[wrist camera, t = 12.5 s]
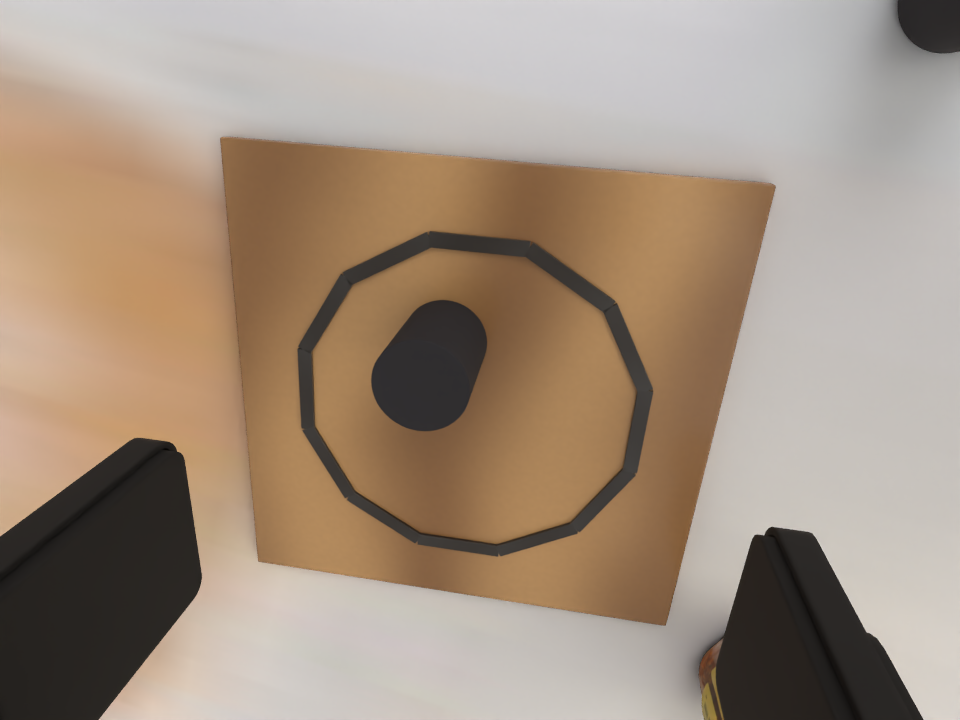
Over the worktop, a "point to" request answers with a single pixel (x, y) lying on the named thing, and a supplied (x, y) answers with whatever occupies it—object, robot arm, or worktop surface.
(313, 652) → the worktop surface
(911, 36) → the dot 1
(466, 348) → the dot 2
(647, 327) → the board
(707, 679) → the sauce bottle
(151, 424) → the worktop surface
